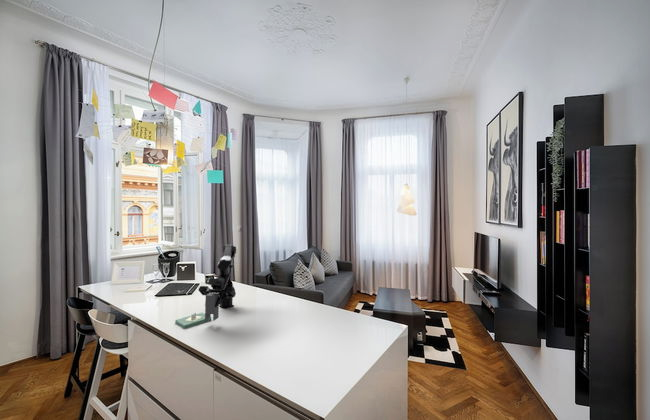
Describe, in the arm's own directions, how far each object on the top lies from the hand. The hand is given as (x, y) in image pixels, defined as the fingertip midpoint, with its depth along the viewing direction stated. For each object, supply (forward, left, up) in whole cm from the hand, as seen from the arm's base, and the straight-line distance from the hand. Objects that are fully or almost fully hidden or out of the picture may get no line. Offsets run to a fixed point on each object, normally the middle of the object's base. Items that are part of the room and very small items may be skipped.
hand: (210, 306), depth 134 cm
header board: (+3, -12, -10) cm, 15 cm away
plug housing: (-1, -1, -7) cm, 7 cm away
